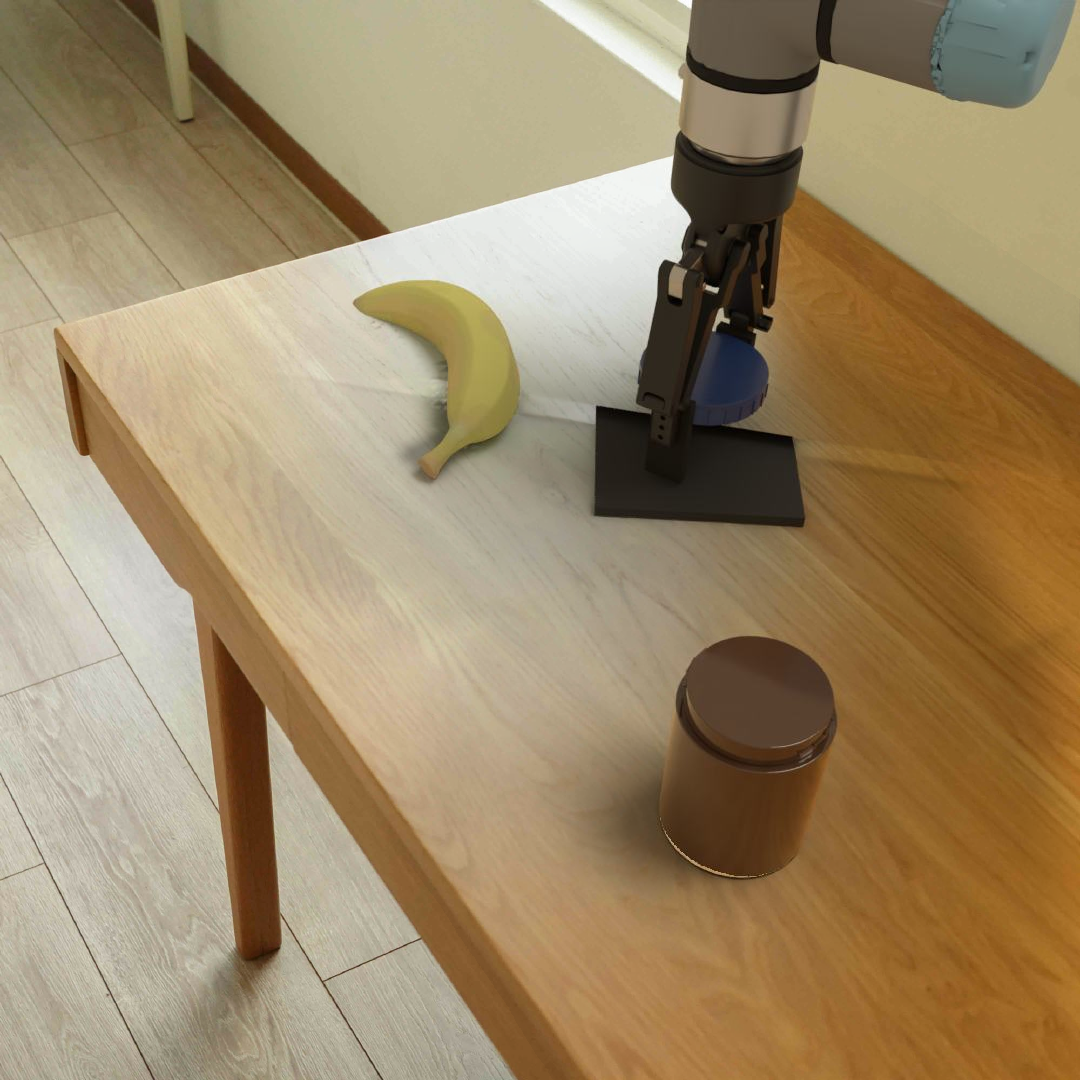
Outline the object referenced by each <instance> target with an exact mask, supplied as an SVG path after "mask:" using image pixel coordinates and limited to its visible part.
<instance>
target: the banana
mask: <svg viewBox="0 0 1080 1080" xmlns="http://www.w3.org/2000/svg"><path fill="white" fill-rule="evenodd" d="M352 305H353V306H354V307H355V309H356V310H357V311H359V312H360V313H362V314H364V315H367V316H370V317H374V318H376V319H379V320H384V321H386V322H388V323H393V324H395V325H397V326H401V327H403V328H405V329H407V330H409V331H410V332H413V333H415V334H417V335H418V336H420V337H422V338H423V339H425V340H427V341H428V342H429V343H431V345H433V346H434V347H435V348H436V349H437V351H438V352H439V353H440V354H441V356H442V357H443V358H444V359H445V361H446V364H447V387H446V411H447V412H446V415H447V416H446V417H447V423H448V425H449V429H448V431H447V432H446V434H445V436H444V437H443V439H442V440H441V442H440V443H439V444H438V445H437V446H435V448H433V449H431V450H430V451H429V452H427V453H425V454H424V455H422V456H420V457H419V458H418V459H417V462H418V465H419V467H420V469H421V470H422V471H423V472H424V473H425V475H427V476H428V477H429V478H431V479H433V480H435V479H437V478H438V476H439V474H440V472H441V470H442V468H443V466H444V465H445V463H446V462H447V461H448V459H449V458H451V456H452V455H454V454H455V453H456V452H458V451H459V450H461V449H462V448H464V447H466V446H468V445H470V444H478V443H481V442H484V441H487V440H488V439H489V440H490V439H491V438H493V437H495V436H497V435H498V434H499V433H501V432H502V431H503V430H505V428H506V427H507V426H508V425H509V423H510V422H511V421H512V420H513V418H514V416H515V414H516V412H517V409H518V406H519V403H520V402H519V401H520V393H521V379H520V373H519V372H520V371H519V367H518V363H517V361H516V358H515V354H514V351H513V348H512V345H511V342H510V339H509V337H508V334H507V331H506V329H505V326H504V325H503V323H502V321H501V320H500V318H499V317H498V315H497V314H496V312H495V311H494V310H493V309H492V308H491V307H490V306H489V305H488V304H487V303H486V302H485V301H484V300H483V299H481V298H480V297H479V296H477V295H476V294H475V293H474V292H472V291H470V290H468V289H466V288H464V287H462V286H459V285H457V284H454V283H450V282H446V281H441V280H435V279H412V280H401V281H397V282H392V283H388V284H385V285H382V286H377V287H375V288H373V289H370V290H368V291H366V292H364V293H363V294H361V295H359V296H357V297H356V298H355V299H354V300H353V302H352Z"/></svg>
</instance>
